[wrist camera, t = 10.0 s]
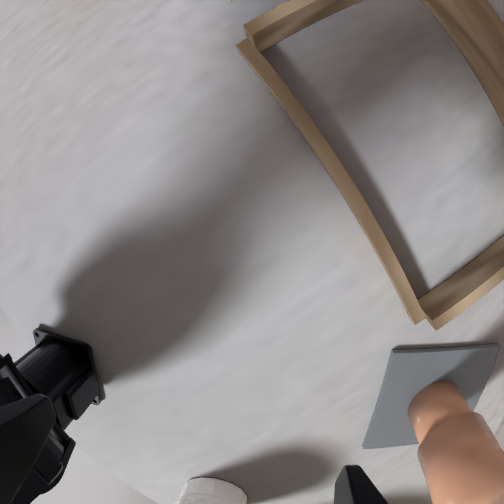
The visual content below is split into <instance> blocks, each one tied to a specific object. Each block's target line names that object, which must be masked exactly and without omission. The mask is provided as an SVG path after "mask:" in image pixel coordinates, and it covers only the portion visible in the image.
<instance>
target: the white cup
mask: <svg viewBox="0 0 504 504" xmlns="http://www.w3.org/2000/svg"><path fill="white" fill-rule="evenodd" d="M246 502H247V496H246V494H245V493H244V492H243V490H242V489H240V488H239V487H237V486H235V485H233V484H232V483H229V482H226V481H223V480H219V479H215V478H204V477H201V478H195V479H190V480H189V481H188V482H187V483H185V484H184V486H183V488H182V491H181V493H180V496H179V498H178V501H177V502H176V504H246Z"/></svg>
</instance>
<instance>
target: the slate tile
mask: <svg viewBox="0 0 504 504" xmlns="http://www.w3.org/2000/svg"><path fill="white" fill-rule="evenodd" d="M499 349H500V345H499V344H498V343H495V344H485V345H475V346H462V347H448V348H431V349H406V350H392V351H391V355H390V358H389V362H388V366H387V370H386V374H385V377H384V381H383V384H382V388H381V391H380V394H379V398H378V401H377V404H376V407H375V410H374V413H373V416H372V419H371V422H370V425H369V428H368V431H367V434H366V437H365V439H364V442H363V445H362V446H363V449H373V448H385V447H396V446H404V445H412V444H419V443H418V440H417V437H416V435H415V432H414V429H413V427H412V424H411V422H410V419H409V417H408V407H409V404H410V402H411V401H412V399H413V398H414V397H415V395H416V394H417V393H418V392H420V391H421V390H422V389H423V388H425V387H426V386H428V385H430V384H432V383H435V382H438V381H451V382H453V383H454V384H455V385H456V386H457V387H458V389H459V391H460V392H461V394H462V395H463V397H464V398H465V400H466V402H467V403H468V405H469V406H470V408H471V410H472V411H474V409H475V407H476V405H477V402H478V400H479V398H480V396H481V394H482V392H483V389H484V387H485V385H486V382H487V380H488V378H489V375H490V373H491V370H492V368H493V365H494V363H495V360H496V357H497V355H498V352H499Z"/></svg>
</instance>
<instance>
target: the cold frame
mask: <svg viewBox="0 0 504 504" xmlns="http://www.w3.org/2000/svg"><path fill="white" fill-rule="evenodd" d="M227 1H229V2H231V3H232V2H233V1H235V0H227ZM359 1H362V0H289V1H287V2H285V3H283V4H281V5H279V6H277V7H275V8H273V9H271V10H269V11H268V12H266V13H264V14H262V15H260V16H259V17H257V18H255V19H253V20H252V21H250V22H248V23H246V24H245V25H243V26H244V29H245V32H246V35H247V39H245V40H244V41H242V42H240V43H239V44H237V45H236V46H237V49H238V51H239V53H240V54H241V55H242V56H243V58H244V59H245V60H246V61H247V62H248V64H249V65H250V66H251V67H252V69H253V70H254V71H255V72H256V74H257V75H258V76H259V77H260V79H261V80H262V81H263V82H264V84H265V85H266V86H267V88H268V89H269V90H270V91H271V93H272V94H273V95H274V97H275V98H276V99H277V101H278V102H279V103H280V105H281V106H282V107H283V109H284V110H285V111H286V113H287V114H288V115H289V117H290V118H291V120H292V121H293V122H294V124H295V125H296V127H297V128H298V129H299V131H300V132H301V134H302V135H303V136H304V138H305V139H306V141H307V142H308V144H309V145H310V147H311V148H312V149H313V151H314V152H315V154H316V155H317V157H318V158H319V160H320V161H321V163H322V164H323V166H324V167H325V169H326V170H327V172H328V174H329V175H330V177H331V178H332V180H333V181H334V183H335V184H336V186H337V188H338V189H339V191H340V192H341V194H342V196H343V197H344V199H345V200H346V202H347V204H348V205H349V207H350V209H351V210H352V212H353V214H354V215H355V217H356V219H357V220H358V222H359V224H360V225H361V227H362V229H363V230H364V232H365V234H366V236H367V237H368V239H369V241H370V243H371V244H372V246H373V248H374V250H375V252H376V253H377V255H378V257H379V259H380V261H381V262H382V264H383V266H384V268H385V270H386V272H387V274H388V275H389V277H390V279H391V281H392V283H393V285H394V287H395V289H396V291H397V293H398V295H399V297H400V299H401V301H402V303H403V305H404V307H405V309H406V311H407V313H408V315H409V317H410V318H411V320H412V321H413V322H414V324H415V325H416V324H417V323H419V322H420V321H422V320H423V319H425V318H426V319H427V320H428V322H429V323H430V324H431V325H432V326H433V328H434V329H435V330H438V329H439V328H441V327H442V326H444V325H445V324H446V323H448V322H449V321H451V320H452V319H453V318H455V317H456V316H458V315H459V314H460V313H462V312H463V311H464V310H466V309H467V308H468V307H470V306H471V305H472V304H474V303H475V302H476V301H478V300H479V299H480V298H481V297H483V296H484V295H485V294H487V293H488V292H489V291H490V290H491V289H493V288H494V287H495V286H496V285H498V284H499V283H500V282H501V281H502V280H504V235H503V236H502V237H501V238H500V239H498V240H497V241H496V242H495V243H494V244H492V245H491V246H490V247H489V248H487V249H486V250H485V251H484V252H482V253H481V254H480V255H479V256H477V257H476V258H475V259H474V260H472V261H471V262H470V263H468V264H467V265H466V266H464V267H463V268H462V269H460V270H459V271H458V272H456V273H455V274H454V275H452V276H451V277H450V278H448V279H447V280H445V281H444V282H443V283H441V284H440V285H438V286H437V287H436V288H434V289H433V290H431V291H430V292H428V293H427V294H425V295H424V296H423V297H421V298H420V299H418V300H417V298H416V296H415V294H414V292H413V290H412V288H411V286H410V284H409V282H408V280H407V277H406V275H405V273H404V271H403V269H402V268H401V266H400V264H399V262H398V260H397V258H396V256H395V254H394V252H393V250H392V248H391V246H390V244H389V243H388V241H387V239H386V237H385V235H384V233H383V232H382V230H381V228H380V226H379V224H378V223H377V221H376V219H375V217H374V216H373V214H372V212H371V210H370V209H369V207H368V205H367V204H366V202H365V200H364V199H363V197H362V195H361V194H360V192H359V190H358V189H357V187H356V185H355V184H354V182H353V180H352V179H351V177H350V176H349V174H348V172H347V171H346V169H345V168H344V166H343V165H342V163H341V162H340V160H339V158H338V157H337V155H336V154H335V152H334V151H333V149H332V148H331V146H330V145H329V143H328V142H327V140H326V139H325V138H324V136H323V135H322V133H321V132H320V130H319V129H318V127H317V126H316V125H315V123H314V122H313V120H312V119H311V118H310V116H309V115H308V113H307V112H306V111H305V109H304V108H303V107H302V105H301V104H300V102H299V101H298V100H297V98H296V97H295V96H294V94H293V93H292V92H291V91H290V89H289V88H288V87H287V85H286V84H285V83H284V81H283V80H282V79H281V78H280V76H279V75H278V74H277V73H276V71H275V70H274V69H273V68H272V66H271V65H270V64H269V63H268V62H267V60H266V59H265V58H264V57H263V55H262V54H261V52H262V51H264V50H266V49H267V48H269V47H271V46H272V45H274V44H276V43H278V42H279V41H281V40H283V39H285V38H286V37H288V36H290V35H292V34H294V33H296V32H297V31H299V30H301V29H303V28H305V27H307V26H309V25H311V24H313V23H315V22H317V21H319V20H321V19H323V18H325V17H327V16H329V15H331V14H333V13H335V12H337V11H339V10H341V9H344V8H346V7H348V6H350V5H353V4H355V3H357V2H359ZM421 1H422V2H423V3H424V4H425V5H426V7H427V8H428V9H429V10H430V11H431V13H432V14H433V15H434V16H435V18H436V19H437V20H438V21H439V23H440V24H441V25H442V27H443V28H444V29H445V31H446V32H447V33H448V35H449V36H450V37H451V39H452V40H453V41H454V43H455V44H456V46H457V47H458V49H459V50H460V51H461V53H462V54H463V56H464V57H465V59H466V60H467V62H468V64H469V65H470V67H471V68H472V70H473V71H474V73H475V75H476V76H477V78H478V80H479V81H480V83H481V85H482V86H483V88H484V90H485V92H486V93H487V95H488V97H489V99H490V101H491V103H492V104H493V106H494V108H495V110H496V112H497V114H498V116H499V118H500V120H501V122H502V124H503V126H504V23H503V22H502V21H501V19H500V18H499V16H498V15H497V14H496V12H495V11H494V9H493V8H492V7H491V5H490V4H489V3H488V1H487V0H421Z"/></svg>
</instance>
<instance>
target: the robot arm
mask: <svg viewBox="0 0 504 504" xmlns="http://www.w3.org/2000/svg"><path fill="white" fill-rule="evenodd" d="M33 334H34V339H35V343H36V346H35V347H34V348H33V349H31V350H30V351H29V352H28V353H26V354H25V355H24V356H22V357H21V358H20V359H19V360H17V361H16V362H15V363H13V361H12V358H11V356H10V354H9V353H8V354H6V355H5V356H2V355H1V354H0V504H30V503H31V502H32V501H33V500H34V499H35V498H36V497H38V496H39V495H40V494H44V493H46V492H48V491H50V490H51V489H52V488H53V487H55V486H56V484H57V483H58V482H59V481H60V480H61V478H62V476H63V474H64V471H65V469H66V466H67V464H68V461H69V459H70V456H71V454H72V451H73V449H74V447H75V444H76V442H75V441H74V440H73V439H72V438H70V437H69V436H68V435H67V434H66V432H65V431H64V430H65V429H66V428H67V426H68V425H69V424H70V423H71V421H72V420H73V419H74V420H78V419H79V418H80V417H81V415H82V414H83V413H84V412H85V410H86V409H87V408H88V407H89V405H90V404H94V405H99V404H100V402H101V397H100V392H99V387H98V382H97V377H96V372H95V368H94V362H93V357H92V351H91V348H90V346H89V345H88V344H86V343H82V342H79V341H76V340H73V339H69V338H66V337H63V336H60V335H57V334H54V333H51V332H48V331H45V330H43V329H40V328H36V329H35V330H34V331H33ZM334 504H388V503H387V501H386V500H385V499H384V497H383V496H382V495H381V493H380V492H379V491H378V489H377V488H376V487H375V486H374V484H373V483H372V482H371V480H370V479H369V478H368V476H367V475H366V474H365V472H364V471H363V469H362V468H361V467H360V466H359V465H345V466H344V467H343V469H342V471H341V472H340V474H339V476H338V478H337V480H336V483H335V494H334Z"/></svg>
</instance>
